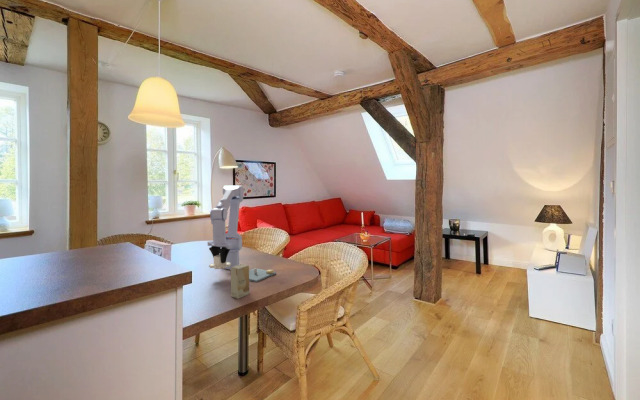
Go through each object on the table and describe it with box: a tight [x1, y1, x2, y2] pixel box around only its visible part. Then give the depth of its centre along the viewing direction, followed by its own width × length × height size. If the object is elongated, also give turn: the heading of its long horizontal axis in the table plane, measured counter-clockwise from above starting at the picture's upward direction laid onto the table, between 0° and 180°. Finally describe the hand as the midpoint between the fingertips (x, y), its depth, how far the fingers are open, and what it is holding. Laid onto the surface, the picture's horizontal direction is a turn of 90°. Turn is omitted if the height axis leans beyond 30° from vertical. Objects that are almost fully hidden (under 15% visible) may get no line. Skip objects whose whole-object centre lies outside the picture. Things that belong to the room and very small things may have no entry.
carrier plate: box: [249, 267, 277, 283], centre depth 149 cm, size 14×14×4 cm
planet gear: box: [208, 254, 231, 270], centre depth 143 cm, size 9×9×5 cm
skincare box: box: [230, 263, 250, 299], centre depth 123 cm, size 6×4×12 cm
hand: (220, 262), depth 143 cm, fingers closed on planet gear, 4 cm apart
